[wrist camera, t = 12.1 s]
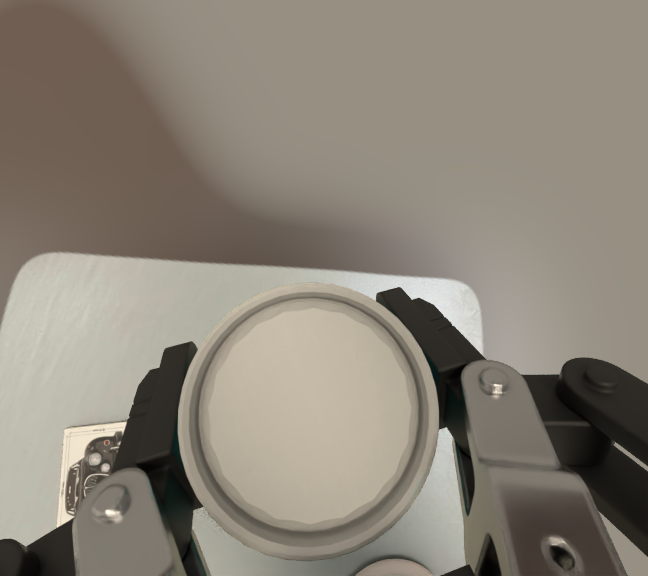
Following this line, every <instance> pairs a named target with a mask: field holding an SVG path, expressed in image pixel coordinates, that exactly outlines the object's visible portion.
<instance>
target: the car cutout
mask: <svg viewBox="0 0 648 576" xmlns="http://www.w3.org/2000/svg"><path fill="white" fill-rule="evenodd" d="M126 423H127V421H123V422H114V423H105V424H96V425H87V426H77V427H69V428H65V429H64V438H63V450H62V463H61V475H60V488H59V500H58V512H57V525H56V528H58V527H59V526H61V525H63V524H64V523H66V522H68V521H69V520H71V519H72V518H74V516H75V514H76V511H77V509H78V507H79V505H80V504H81V502H82V501H83V499H84V498H85V496H86V495H87V494H88V493H89V492H90V490H91V489H92V488H93V487H94V486H95V485H97V484H98V483H99V482H100V481H101V480H103V479H104V478H105V477H107V476H109V475H110V473H111V471H112V468H113V464H114V461H115V458H116V455H117V452H118V449H119V445H120V442H121V439H122V436H123V433H124V430H125V427H126Z"/></svg>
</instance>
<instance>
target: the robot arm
mask: <svg viewBox="0 0 648 576" xmlns="http://www.w3.org/2000/svg"><path fill="white" fill-rule="evenodd" d="M376 302H378V303H379V304H381V305H382V306H384V307H385V308H386V309H387V310H389V311H390V312H391V313H392V314H393V315H395V316H396V317H397V318H398V319H399V320H400V321H401V322H402V324H403V325H404V326H405V327H406V328H407V329H408V330H409V331H410V333H411V334H412V336H413V337H414V339H415V340H416V342H417V343H418V345H419V346H420V348H421V349H422V351H423V354H424V356H425V358H426V360H427V362H428V365H429V367H430V369H431V373H432V376H433V380H434V383H435V386H436V392H437V399H438V406H439V429H442V428H445V427H447V428H448V430H449V432H450V433H451V435H452V436H453V441H452V446H453V453H454V460H455V467H456V474H457V480H458V487H459V494H460V501H461V507H462V514H463V522H464V549H465V560H466V566H464V567H461V568H459V569H456V570H454V571H451V572H449V573H446V574H444V575H441V576H628V575H627V573H626V571H625V569H624V567H623V564H622V562H621V560H620V558H619V556H618V553H617V551H616V549H615V547H614V545H613V543H612V540H611V538H610V536H609V534H608V532H607V529H606V527H605V525H604V523H603V520H602V518H601V516H600V514H599V512H600V513H602V514H603V515H604V516H605V517H606V518H607V519H608V520H609V521H610V522H611V523H612V524H613V525H614V526H615V527H616V528H617V529H619V530H620V531H621V532H622V533H623V534H624V535H625V536H626V537H627V538H628V539H629V540H630V541H631V542H632V543H634V544H635V545H636V546H637V547H638V548H639V549H640V550H641V551H642V552H643V553H644V554H645V555H646V556H648V471H646V470H645V469H644V468H642V467H641V466H640V465H639V464H637V463H636V462H635V461H633V460H632V459H631V458H629V457H628V456H627V455H625V454H624V453H623V452H621V451H620V450H619V449H618V448H616V447H615V446H614V443H615V442H616V443H618V444H619V445H620V446H622V447H623V448H624V449H626V450H627V451H628V452H630V453H631V454H632V455H634V456H635V457H636V458H638V459H639V460H640V461H642V462H643V463H644V464H646V465H647V466H648V384H647V383H645V382H643V381H641V380H640V379H638V378H637V377H635V376H633V375H631V374H630V373H628V372H626V371H624V370H622V369H621V368H619V367H617V366H615V365H613V364H611V363H608V362H605V361H602V360H598V359H593V358H575V359H572V360H569V361H567V362H566V363H565V364H564V365H563V367H562V370H561V373H560V375H521V374H520V373H518V372H517V371H516V370H515V369H513V368H512V367H510V366H508V365H506V364H504V363H501V362H498V361H493V360H486V359H485V358H484V357H483V356H482V355H481V354H480V353H479V352H478V351H477V350H476V348H475V347H474V346H473V345H472V344H471V343H470V342H469V341H468V340H467V339H466V338H465V337H464V336H463V335H462V334H461V333H460V332H459V331H458V330H457V329H456V328H455V327H454V326H452V324H451V323H450V321H449V320H448V319H447V318H446V317H445V318H444V316H443V314H442V313H441V312H440V311H439V310H438V309H437V308H436V307H435V306H434V305H433V304H431V303H429V302H427V301H425V300H423V299H421V298H417V299H413V300H411V298H410V297H409V296H408V295H407V294H406V293H405V292H404V290H403V289H402V288H400V287H398V288H394V289H390V290H386V291H383V292H379V293H377V295H376ZM197 351H198V349H197V347H196V345H195V344H194V343H193V342H192V341H191V342H187V343H183V344H180V345H176V346H172V347H168V348H166V349H165V350H164V352H163V356H162V360H161V364H160V368H156V369H152V370H150V371H149V372H148V374H147V375H146V376H145V378H144V379H143V380H142V382H141V383H140V384H139V386H138V389H137V392H136V395H135V398H134V401H133V402H134V405H132V408H131V411H130V414H129V416H130V418H129V419H128V420H127V423H126V427H125V430H124V433H123V436H122V439H121V442H120V445H119V449H118V452H117V455H116V458H115V461H114V464H113V468H112V471H111V473H110V475H109V476H107V477H105V478H104V479H103V480H101V481H100V482H99V483H98V484H97V485H95V486H94V487H93V488H92V489H91V490H90V492H89V493H88V494H87V495H86V496H85V498H84V499H83V501H82V502H81V504H80V505H79V507H78V509H77V511H76V514H75V516H74V518H72V519H71V520H69V521H68V522H66V523H64V524H63V525H61V526H59V527H58V528H56V529H54V530H53V531H51V532H50V533H48V534H46V535H45V536H43V537H41V538H40V539H38V540H36V541H35V542H33V543H31V544H30V545H28V546H27V547H25V546H24V545H22V544H21V543H19V542H17V541H16V540H13V539H2V540H0V576H211V574H210V571H209V569H208V566H207V563H206V561H205V558H204V556H203V553H202V550H201V548H200V545H199V542H198V540H197V537H196V535H195V533H194V531H193V529H192V520H193V510H195V509H198V508H201V507H203V505H202V504H201V502H200V501H199V499H198V498H197V496H196V494H195V492H194V490H193V488H192V486H191V484H190V482H189V480H188V478H187V475H186V472H185V468H184V465H183V461H182V458H181V454H180V446H179V438H178V408H179V403H180V397H181V392H182V387H183V384H184V381H185V378H186V375H187V372H188V369H189V366H190V364H191V362H192V360H193V358H194V356H195V355H196V353H197ZM598 511H599V512H598Z"/></svg>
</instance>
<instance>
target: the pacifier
mask: <svg viewBox="0 0 648 576" xmlns="http://www.w3.org/2000/svg"><path fill="white" fill-rule="evenodd" d="M394 575H401V576H433V575H432V574H431V572H429V571H428V570H427V569H426V568H425V567H423V566H422V565H419V564H417V563H415V562H413V561H409V560H404V559H386V560H382V561H377V562H375V563H373V564H371V565H369V566H366V567H365V568H364V569H363V570H361V571H360V572H359V573H357V575H356V576H394Z"/></svg>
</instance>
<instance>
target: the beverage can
mask: <svg viewBox="0 0 648 576" xmlns="http://www.w3.org/2000/svg"><path fill="white" fill-rule="evenodd" d="M438 432H439V406H438V399H437V392H436V386H435V383H434V380H433V376H432V373H431V369H430V367H429V365H428V362H427V360H426V358H425V356H424V354H423V351H422V349H421V348H420V346H419V345H418V343H417V342H416V340H415V339H414V337H413V336H412V334H411V333H410V331H409V330H408V329H407V328H406V327H405V326H404V325H403V324H402V322H401V321H400V320H399V319H398V318H397V317H396V316H395V315H393V314H392V313H391V312H390V311H389V310H387V309H386V308H385V307H384V306H382V305H381V304H379V303H378V302H376V301H374V300H373V299H371V298H369V297H368V296H366V295H363V294H361V293H359V292H356V291H354V290H351V289H348V288H344V287H341V286H337V285H333V284H323V283H296V284H291V285H286V286H281V287H276V288H274V289H271V290H268V291H266V292H263V293H260V294H258V295H256V296H254V297H252V298H251V299H249V300H247V301H245V302H243V303H242V304H240V305H239V306H238V307H236V308H235V309H234V310H232V311H231V312H230V313H228V314H227V315H226V316H225V317H224V318H223V319H222V320H221V321H220V322H219V323H218V324H217V325H216V326H215V327H214V328H213V329H212V330H211V332H210V333H209V334H208V336H207V337H206V339H205V340H204V341H203V343H202V344H201V346H200V347H199V349H198V351H197V353H196V355H195V356H194V358H193V360H192V362H191V364H190V366H189V369H188V372H187V375H186V378H185V381H184V384H183V387H182V392H181V397H180V403H179V408H178V438H179V446H180V454H181V458H182V461H183V465H184V468H185V472H186V475H187V478H188V480H189V482H190V484H191V486H192V488H193V490H194V492H195V494H196V496H197V498H198V499H199V501H200V502H201V504H202V505H203V507H204V508H205V509H206V511H207V512H208V514H209V515H210V516H211V517H212V518H213V519H214V520H215V521H216V522H217V523H218V524H219V525H220V526H221V527H222V528H223V529H224V530H225V531H226V532H227V533H228V534H230V535H231V536H233V537H234V538H235V539H237V540H238V541H240V542H241V543H243V544H244V545H246V546H248V547H250V548H253V549H255V550H257V551H259V552H261V553H264V554H266V555H270V556H274V557H278V558H282V559H286V560H299V561H315V560H323V559H331V558H335V557H338V556H341V555H344V554H348V553H351V552H354V551H356V550H358V549H360V548H362V547H363V546H365V545H367V544H369V543H371V542H373V541H375V540H376V539H377V538H379V537H380V536H381V535H383V534H384V533H385V532H386V531H388V530H389V529H390V528H392V527H393V526H394V525H395V524H396V522H397V521H398V520H399V519H400V518H401V517H402V516H403V515H404V514H405V513H406V512H407V511H408V509H409V508H410V506H411V505H412V503H413V502H414V500H415V499H416V497H417V496H418V494H419V493H420V491H421V489H422V487H423V485H424V483H425V481H426V478H427V476H428V474H429V472H430V469H431V465H432V462H433V459H434V455H435V452H436V446H437V439H438Z"/></svg>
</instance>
